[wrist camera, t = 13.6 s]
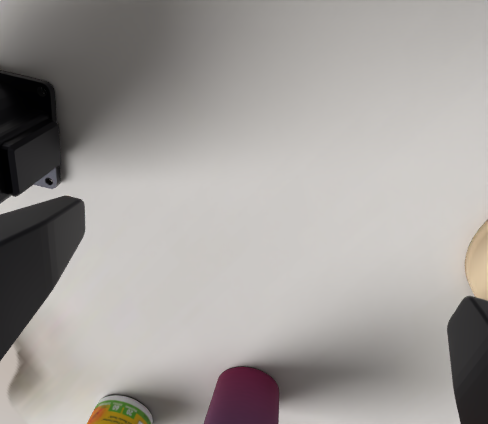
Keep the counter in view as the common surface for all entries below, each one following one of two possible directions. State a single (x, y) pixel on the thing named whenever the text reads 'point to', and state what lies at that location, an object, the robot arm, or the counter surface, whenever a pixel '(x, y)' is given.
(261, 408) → the cup
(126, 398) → the supplement bottle
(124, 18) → the counter surface
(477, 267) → the coaster
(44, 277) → the robot arm
